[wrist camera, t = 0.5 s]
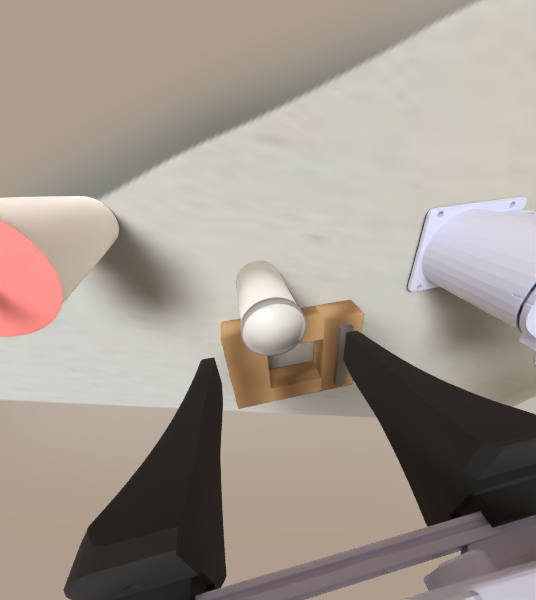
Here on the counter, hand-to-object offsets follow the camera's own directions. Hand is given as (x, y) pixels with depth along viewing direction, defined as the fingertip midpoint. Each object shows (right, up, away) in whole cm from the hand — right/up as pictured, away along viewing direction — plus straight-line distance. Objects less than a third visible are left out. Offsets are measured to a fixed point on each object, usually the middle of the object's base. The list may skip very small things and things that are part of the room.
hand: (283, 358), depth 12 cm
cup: (-13, +8, +4) cm, 16 cm away
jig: (+2, -2, +13) cm, 13 cm away
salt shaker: (-2, +5, +8) cm, 9 cm away
